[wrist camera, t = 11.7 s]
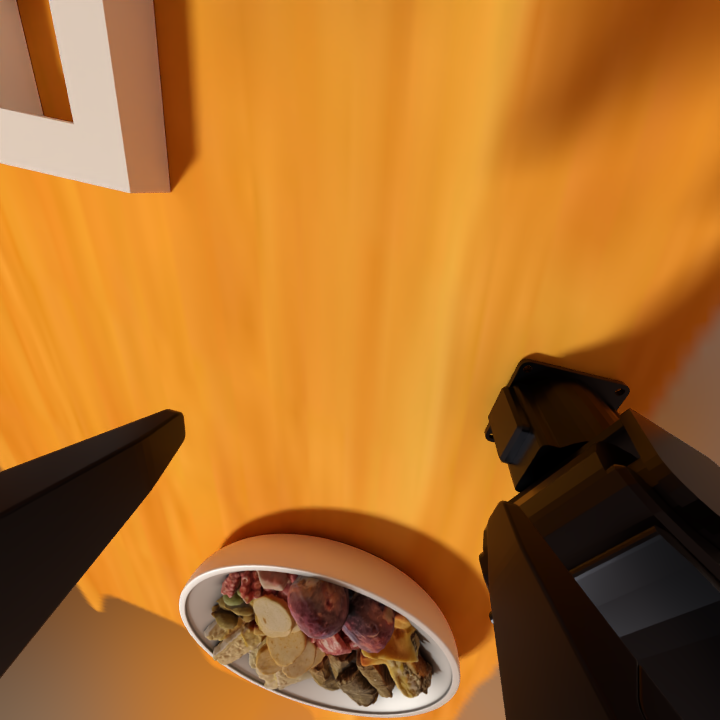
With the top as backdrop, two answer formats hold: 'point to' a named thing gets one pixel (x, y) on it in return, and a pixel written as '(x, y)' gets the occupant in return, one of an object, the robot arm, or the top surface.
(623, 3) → the top surface
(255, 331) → the top surface
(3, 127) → the pin socket block
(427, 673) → the bowl
